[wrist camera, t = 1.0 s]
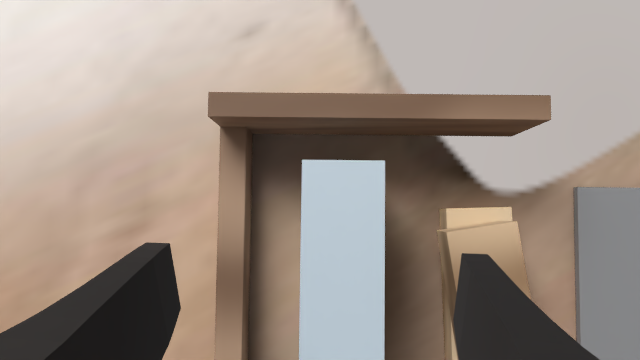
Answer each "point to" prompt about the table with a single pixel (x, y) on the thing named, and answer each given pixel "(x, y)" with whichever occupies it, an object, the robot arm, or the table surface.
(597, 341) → the grey block
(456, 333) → the robot arm
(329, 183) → the pale blue block
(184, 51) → the table surface
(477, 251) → the offcut upper
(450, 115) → the rack
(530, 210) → the table surface
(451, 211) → the offcut lower
